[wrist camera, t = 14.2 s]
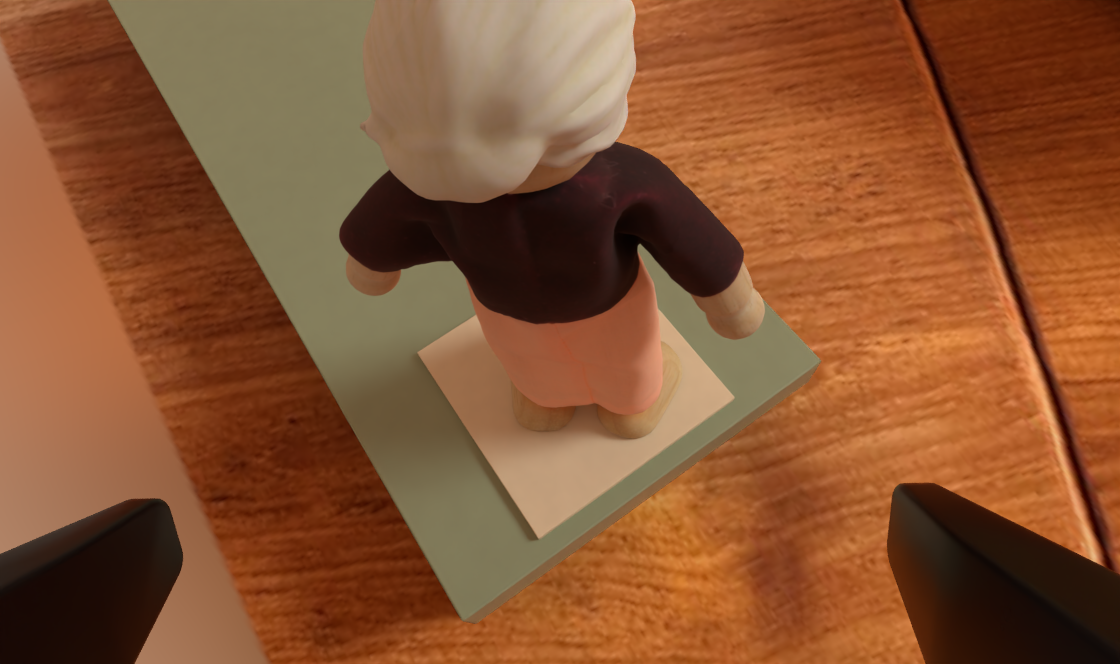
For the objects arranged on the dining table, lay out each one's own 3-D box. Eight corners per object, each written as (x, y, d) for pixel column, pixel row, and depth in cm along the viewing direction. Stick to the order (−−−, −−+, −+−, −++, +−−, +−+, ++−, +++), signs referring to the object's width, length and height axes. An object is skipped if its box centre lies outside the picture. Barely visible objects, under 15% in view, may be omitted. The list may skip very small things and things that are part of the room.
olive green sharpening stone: (791, 409, 22) (824, 357, 18) (492, 628, 20) (460, 621, 16) (337, -97, 34) (300, -191, 31) (128, 8, 32) (62, -77, 29)
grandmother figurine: (710, 303, 19) (831, -242, 7) (732, 442, 17) (927, 22, 6) (429, 326, 19) (134, -151, 8) (423, 463, 18) (44, 114, 6)
